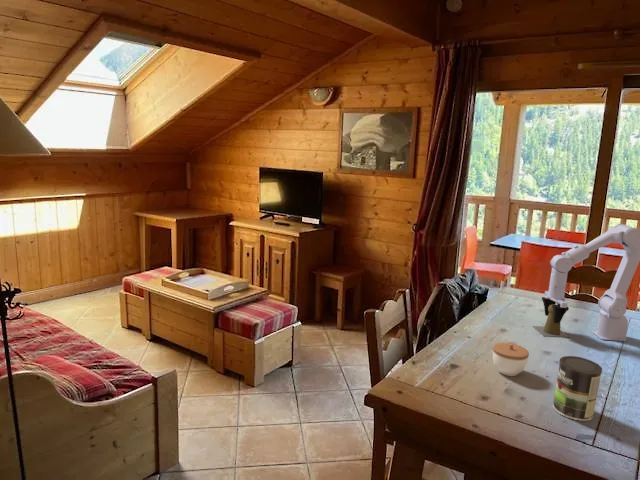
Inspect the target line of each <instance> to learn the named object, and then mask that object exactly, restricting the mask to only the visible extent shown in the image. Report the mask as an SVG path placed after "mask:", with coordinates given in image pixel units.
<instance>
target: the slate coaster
mask: <svg viewBox="0 0 640 480" xmlns="http://www.w3.org/2000/svg"><path fill="white" fill-rule="evenodd" d="M544 327H545V325H542V326H541V325H540V326H539V325H532V328H534V329H535V331H536V332H538V333H539V334H540V335H541V336H542V337H543V338H547V337H548V338H549V337H550V338H570V336H569V335H568V334H567V333H565V332H563V330H561V329H560V334H559V335H553V334H549V333H546V332H544Z"/></svg>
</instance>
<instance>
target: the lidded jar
mask: <svg viewBox="0 0 640 480" xmlns="http://www.w3.org/2000/svg"><path fill="white" fill-rule="evenodd" d="M529 353H530V352H529V351H528V349H526V347H524V346H521V345H519V344H516V343H513V342H512V343H510V342H497V343H494V344H493V346H492V361H493V364H494V367H495V368H496V370H497V371H498V372H499V373H500V374H502V375H505V376H509V377H515V376H518V375H519V374H520V373H522V372H524V370H525V368H526V367H527V364H528V360H529V359H528V358H529Z"/></svg>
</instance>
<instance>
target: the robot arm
mask: <svg viewBox="0 0 640 480" xmlns="http://www.w3.org/2000/svg"><path fill="white" fill-rule="evenodd" d="M609 244H620V245H621V246H622V247H623V249H624V251H625V252H624V253H623V256H622V259H621V261H620V264H619V266H618V269H617V271H616V272H615V275H614V278H613V280H612V283H611V285H610V288H609V289H607V290H605V291H604V293H603V295H602V296H601V297H600V298H598V302H597V303H598V304H597V305H598V307H599V309H600V310H599V314H598V321H597V325H596V326H597V327H596V330H591V331H590V332H591V333H592V334H593V335H595V336H596V337H598V338H599V339H600V340H603V341H604V340H605V341H623V342H624V341H627V339H626V336H627V332H628V327H629V323H628V318H627V317H626V316H625V314H626V313H627V304H628V298H627V292H628V290H629V287H630V285H631V283H632V279H633V278H634V276H635V273H636V271H637V268H638V266H639V263H640V229H638V228H636V227H632V226H629V225H627V224H625V223H624V224H623V223H618V224H616V225H614V226H612V227H610V228H608V229H607V231H605V232H603V233H602V234H600V235H599V236H597V237H595V238H593V240H591V241H589V242H588V243H586V244H584V245H583V244H578V245H577V244H574V245H573V246H572V248H570V249H568V250H567V251H563V252H561V254H555V255H554V256H553V257H552V258H551V260H549V263H550V266H551V273H550V278H549V283H548V284H549V285H548V290H545V291H544V296H542V297H541V300H542V303H543V307H544V315H545V316H546V317H548V314H549V311H548V307H549V306H550V305H552V304H555V305H552V307H553V311H554V323H560V324H561V322H562V319H563V317H564V316H565V314H566V313H567V312H568V311H569V309H570V307H568V303H567V301H566V299H565V294H566V287H567V280H568V274H569V271H571V270H572V268H573V266H575V265H577V264H578V263H580V262H582V261H584V260H586V259H588V258H589V257H590V254H591V253H593V252H594V251H596V250H598V249H601V248H603V247H605V246H607V245H609Z"/></svg>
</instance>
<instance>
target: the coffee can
mask: <svg viewBox="0 0 640 480" xmlns="http://www.w3.org/2000/svg"><path fill="white" fill-rule="evenodd" d="M602 373H603V368H602V366H601V365H599V363H597V362H595V361H593V360H590V359H587V358H584V357H581V356H575V355H567V356H566V355H564V356H562V357H560V358H559V366H558V371H557V377H556V385H555V390H554V395H553V401H552V409H553V410H554V411H555V412H556V413H557V412H558V414H559V415H560V414H561V415H560V416H562V415H563V416H562V417H564V416H565V418H566V417H567V419H569V418H570V419H569V420H572V419H574V420H573V421H576V420H579V421H578V422H589V421H592V420H593V419H594V414H595V407H596V402H597V397H598V391H599V387H600V381H601V375H602ZM588 420H589V421H588Z"/></svg>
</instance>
